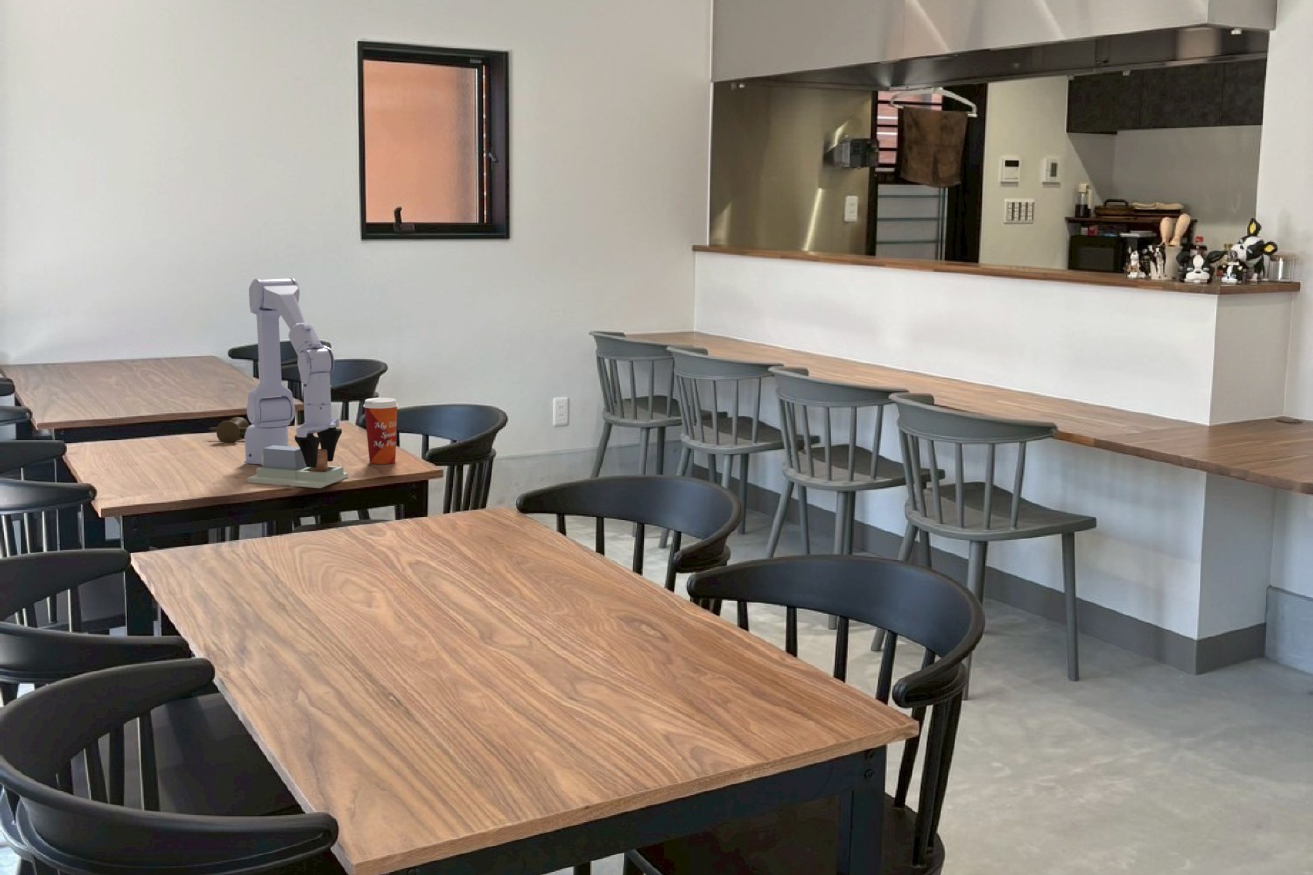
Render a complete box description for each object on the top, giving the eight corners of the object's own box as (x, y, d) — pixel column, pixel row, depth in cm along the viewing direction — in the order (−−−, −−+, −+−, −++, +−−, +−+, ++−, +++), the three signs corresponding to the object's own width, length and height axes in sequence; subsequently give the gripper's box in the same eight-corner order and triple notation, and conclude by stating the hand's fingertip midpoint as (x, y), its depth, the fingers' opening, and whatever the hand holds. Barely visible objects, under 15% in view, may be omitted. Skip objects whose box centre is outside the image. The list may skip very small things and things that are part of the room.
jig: (247, 482, 282) (246, 469, 282) (278, 471, 293) (277, 459, 293) (320, 488, 277) (320, 475, 277) (349, 477, 289) (348, 465, 288)
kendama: (280, 446, 327) (202, 443, 327) (291, 440, 337) (215, 437, 337) (280, 423, 326) (202, 419, 326) (291, 417, 336) (214, 414, 336)
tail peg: (321, 479, 281) (320, 452, 280) (307, 477, 283) (306, 451, 282) (331, 476, 285) (330, 449, 284) (317, 474, 286) (316, 448, 285)
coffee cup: (380, 466, 300) (378, 403, 297) (357, 462, 305) (355, 400, 302) (407, 461, 307) (406, 399, 304) (384, 457, 312) (383, 396, 309)
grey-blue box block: (260, 474, 286) (259, 448, 285) (270, 470, 289) (269, 444, 288) (295, 477, 283) (294, 450, 282) (305, 473, 287) (304, 447, 286)
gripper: (316, 409, 273) (318, 471, 275) (350, 399, 286) (352, 459, 289) (286, 407, 275) (289, 469, 277) (322, 397, 288) (324, 457, 291)
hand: (319, 464), depth 283 cm, fingers open, 6 cm apart
